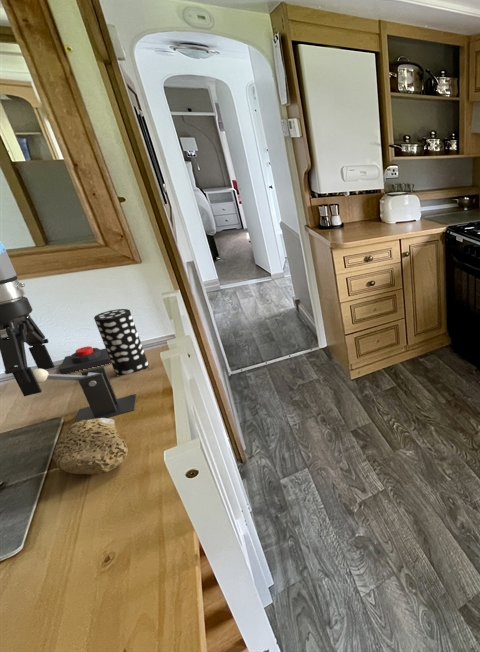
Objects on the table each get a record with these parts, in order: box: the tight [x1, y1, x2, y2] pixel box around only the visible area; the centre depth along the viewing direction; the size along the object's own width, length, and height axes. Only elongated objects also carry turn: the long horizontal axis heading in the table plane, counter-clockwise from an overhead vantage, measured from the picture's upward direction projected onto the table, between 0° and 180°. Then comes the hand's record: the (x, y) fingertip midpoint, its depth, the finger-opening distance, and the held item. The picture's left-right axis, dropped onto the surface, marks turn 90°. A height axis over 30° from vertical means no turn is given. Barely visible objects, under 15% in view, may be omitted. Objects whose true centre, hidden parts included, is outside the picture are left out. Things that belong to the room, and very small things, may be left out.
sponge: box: [51, 418, 129, 475], centre depth 86 cm, size 13×8×20 cm
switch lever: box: [31, 368, 103, 384], centre depth 95 cm, size 13×4×4 cm, turn 126°
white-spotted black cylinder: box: [93, 308, 150, 377], centre depth 119 cm, size 8×8×20 cm
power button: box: [74, 345, 94, 356], centre depth 125 cm, size 4×4×2 cm
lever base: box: [74, 366, 137, 423], centre depth 100 cm, size 12×9×13 cm
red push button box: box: [58, 347, 111, 375], centre depth 126 cm, size 12×10×4 cm
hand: (40, 380), depth 92 cm, fingers open, 13 cm apart
